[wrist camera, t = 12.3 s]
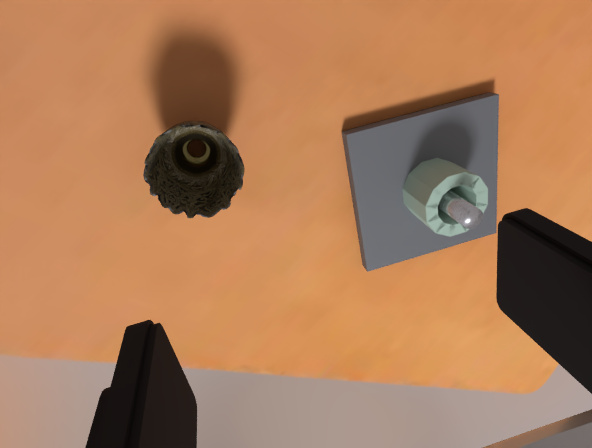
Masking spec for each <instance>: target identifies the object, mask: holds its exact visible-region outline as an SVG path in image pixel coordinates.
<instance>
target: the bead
mask: <svg viewBox="0 0 592 448" xmlns="http://www.w3.org/2000/svg"><path fill="white" fill-rule="evenodd" d="M448 190H450V191H451V192H453V193H455V194H456V195H458V196H459V197H461V198H463V199H464V200H466V201H467V202H469V203H471V204H472V205H474V206H475V207H477V208H478V209H480V210H481V211H482V212H483V213H484V211H485V209H486V207H487V205H488V188H487V186H486V185H485V183H484V182H483V181H482V179H481V178H480V176H478V175H476V174H474V173H472V172H470V171H468V170H466V169H464V168H462V167H460V166H458V165H456V164H454V163H452V162H450V161H447V160H443V159H440V158H434V159H431V160H427V161H423V162H421V163H420V164H419V165H418V166H417V167H416V168H414V169H413V170H412V171H411V172H410V173H409V175H408V177H407V179H406V182H405V184H404V186H403V200H404V204H405V205H406V206H407V208H408V209H409V210H410V211H411V212H412V214H414V215H415V216H416V217H417V218H418V219H420V220H421V221H422V222H423V223H424V224H425V225H427V226H428V227H429V228H430V229H431V230H433V231H434V232H435V233H437V234H441V235H445V236H449V237H451V236H454V235H457V234H461V233H464V232H467V231H468V230H469V229H467V228H465V227H464V226H463V225H461V224H460V223H459V222H457V221H456V220H454V219H453V218H452V217H450V216H449V215H448V214H446V213H445V212H443V211H442V210H441V209H439V208H438V204H439V202H440V200H441V198H442V196H443V195H444V194H445V193H446V192H447V191H448Z"/></svg>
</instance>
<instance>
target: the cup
mask: <svg viewBox="0 0 592 448" xmlns="http://www.w3.org/2000/svg"><path fill="white" fill-rule="evenodd" d="M193 140H199V141H201V142H203V143H204V145H205V148H206V150H205V153H204V154H203V155H202V156H201V157H193V156H192V155H190V154H189V152H188V144H189V143H190V142H191V141H193ZM154 142H155V143H154V144H153V146H152V147H151V149H150V152H149V154H148V155H147V157H146V159H145V164H146V165H145V170H144V180H145V181H146V182H147V183H148V184H149V185H150V194H151V195H153V196H156V195H158V200H159V201H160V203H161V205H162V206H163V207H164V208H169V210H170V211H171V212H172V213H173V214H180V213H182V212H183V211H184V212H185V213H186V215H187V217H188V218H193V217H194V216H195V215H196V214H197V215H201V216H203V217H212V216H214V215H215V214H217V213H218V212H219V211H220V210H221V209H223V210H225V209H227V208H228V207H229V206H230V205H231V203H230V201H231V198H232V197H233V196H234V195H235V194H236V191H237V189H239V190H241V188H242V185H243V179H242V178H243V176H244V165H243V162H242V159H241V157H240V155H239V153H238V149H237V147H236V146H235V145H234V144H233V143H232V142H231V141H230V140H229V138H228V137H227V136H226V135H225V134H224V133H223V132H222V131H220V130H219V129H218V128H216V127H214V126H212V125H210V124H207V123H204V122H199V121H188V122H183V123H180V124H177V125H175V126H173V127H171V128H170V129H168V130H167V131H166V132H164V133H163V134H162V135H160V136H159V137H157V138H156V140H155V141H154Z"/></svg>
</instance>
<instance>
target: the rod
mask: <svg viewBox="0 0 592 448" xmlns="http://www.w3.org/2000/svg"><path fill="white" fill-rule="evenodd" d="M438 208H439V209H441V210H442V211H443V212H445V213H446V214H448V215H449V216H450V217H452V218H453V219H454V220H456V221H457V222H459V223H460V224H461V225H463V226H464V227H465V228H467V229H473V228H476V227H477V226H478V225H479V224H480V223H481V222H482V220H483V212H482V211H481V210H480V209H478V208H477V207H475V206H474V205H472V204H471V203H469V202H467V201H466V200H464V199H463V198H461V197H459V196H458V195H456V194H455V193H453V192H451V191H450V190H448V191H447V192H446V193H445V194H444V195H443V196H442V198H441V200H440V202H439V204H438Z"/></svg>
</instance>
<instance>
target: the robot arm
mask: <svg viewBox="0 0 592 448" xmlns="http://www.w3.org/2000/svg"><path fill="white" fill-rule="evenodd" d="M497 303H498V305H499V307H500V309H501V310H502V311H503V312H504V313H505V314H506V315H507V316H508V317H509V318H510V319H511V320H512V321H513V322H514V323H515V324H517V325H518V326H519V327H520V328H521V329H522V330H523V331H524V332H525V333H526V334H527V335H529V336H530V337H531V338H532V339H533V340H534V341H535V342H536V343H537V344H538V345H539V346H540V347H542V348H543V349H544V350H545V351H546V352H547V353H548V354H549V355H550V356H551V357H552V358H553V359H555V360H556V361H557V362H558V363H559V364H560V365H561V366H562V367H563V368H565V370H567V371H568V372H569V373H570V374H571V375H572V376H573V377H574V378H575V379H576V380H577V381H579V382H580V383H581V384H582V385H583V386H584V387H585V388H586V389H587V390H588V391H589V392H590V393H592V242H591V241H589V240H587V239H585V238H583V237H581V236H579V235H578V234H576V233H574V232H572V231H570V230H568V229H566V228H564V227H562V226H561V225H559V224H557V223H555V222H553V221H551V220H549V219H547V218H546V217H544V216H542V215H540V214H538V213H536V212H534V211H532V210H531V209H528V208H525V209H521V210H518V211H514V212H511V213H507V214H505V215H504V216H503V218H502V221H500V222H499V224H498V251H497ZM196 436H197V404H196V400H195V396H194V394H193V391H192V389H191V387H190V385H189V383H188V381H187V379H186V376H185V374H184V372H183V370H182V368H181V365H180V363H179V361H178V359H177V357H176V355H175V352H174V350H173V348H172V346H171V344H170V342H169V339H168V337H167V335H166V333H165V331H164V329H163V327H162V325H161V324H160V323H157V324H154V323H153V322H152V321H151V320H147V321H144V322H140V323H137V324H134V325H130V326H128V327H126V330H125V333H124V337H123V341H122V345H121V349H120V352H119V356H118V360H117V364H116V368H115V372H114V376H113V380H112V383H111V387H109V388H106V389H104V390H103V391H102V393H101V396H100V398H99V402H98V405H97V409H96V412H95V416H94V419H93V423H92V426H91V430H90V434H89V437H88V441H87V445H86V448H196V444H197V439H196V438H197V437H196ZM483 448H592V410H589V411H586V412H583V413H580V414H577V415H574V416H572V417H569V418H566V419H563V420H560V421H557V422H555V423H551V424H549V425H546V426H543V427H540V428H537V429H534V430H531V431H528V432H526V433H523V434H520V435H518V436H514V437H511V438H509V439H506V440H503V441H500V442H497V443H494V444H492V445H489V446H486V447H483Z"/></svg>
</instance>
